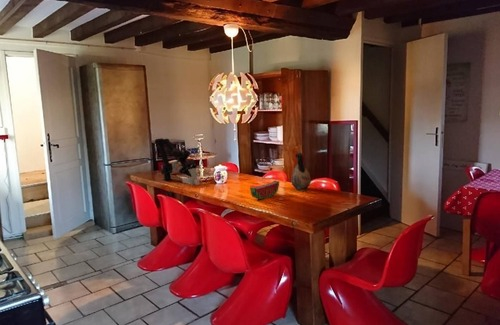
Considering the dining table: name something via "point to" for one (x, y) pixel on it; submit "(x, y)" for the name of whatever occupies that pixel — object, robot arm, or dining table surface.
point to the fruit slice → (265, 190)
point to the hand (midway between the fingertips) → (193, 175)
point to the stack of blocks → (175, 166)
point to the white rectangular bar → (186, 180)
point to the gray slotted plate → (193, 174)
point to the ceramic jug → (300, 175)
